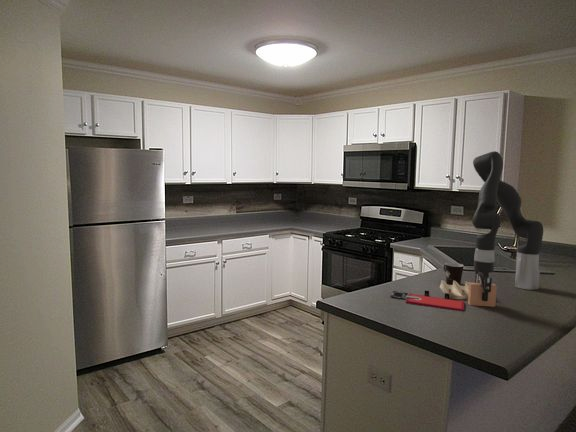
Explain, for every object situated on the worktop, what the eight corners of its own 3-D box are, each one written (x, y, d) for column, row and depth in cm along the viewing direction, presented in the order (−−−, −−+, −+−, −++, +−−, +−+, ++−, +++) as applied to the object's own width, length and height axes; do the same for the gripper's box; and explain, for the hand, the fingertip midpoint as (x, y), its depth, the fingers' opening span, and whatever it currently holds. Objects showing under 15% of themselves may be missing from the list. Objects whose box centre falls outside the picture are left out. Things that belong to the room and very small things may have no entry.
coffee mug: (464, 287, 192) (465, 267, 191) (445, 285, 194) (446, 266, 193) (459, 281, 204) (460, 262, 203) (441, 280, 205) (442, 261, 204)
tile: (492, 304, 166) (494, 283, 166) (495, 306, 164) (496, 285, 163) (467, 302, 168) (469, 282, 167) (469, 305, 165) (471, 284, 164)
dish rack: (479, 289, 188) (479, 281, 188) (491, 301, 171) (492, 292, 170) (439, 287, 191) (440, 279, 191) (448, 298, 174) (448, 289, 173)
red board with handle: (394, 291, 183) (388, 301, 170) (394, 286, 183) (388, 295, 169) (464, 301, 171) (463, 313, 157) (464, 295, 171) (464, 306, 157)
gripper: (500, 263, 156) (497, 304, 158) (488, 256, 170) (485, 293, 172) (479, 262, 158) (477, 303, 159) (469, 255, 172) (467, 292, 173)
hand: (481, 298), depth 166 cm, fingers open, 7 cm apart
